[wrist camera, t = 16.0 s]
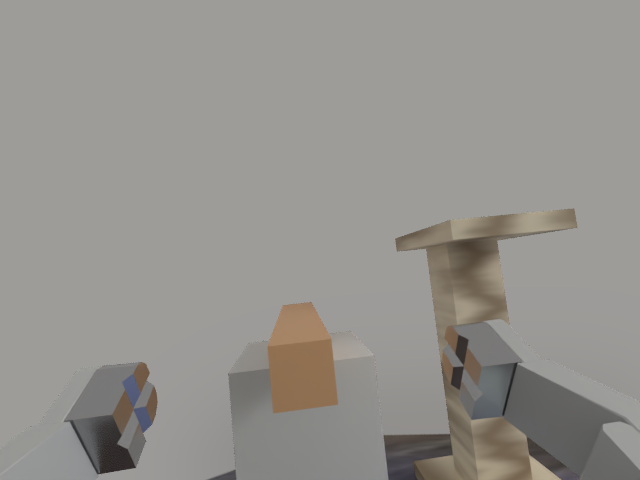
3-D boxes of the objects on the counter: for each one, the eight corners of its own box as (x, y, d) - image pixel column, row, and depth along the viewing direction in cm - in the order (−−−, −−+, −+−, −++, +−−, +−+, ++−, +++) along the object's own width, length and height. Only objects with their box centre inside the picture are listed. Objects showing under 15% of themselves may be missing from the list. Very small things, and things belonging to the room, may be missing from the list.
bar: (273, 413, 16) (267, 346, 16) (285, 334, 35) (282, 305, 36) (338, 404, 16) (331, 338, 16) (314, 331, 36) (311, 302, 36)
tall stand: (487, 597, 23) (437, 221, 25) (415, 475, 37) (386, 239, 39) (648, 567, 24) (586, 207, 26) (519, 459, 38) (485, 229, 40)
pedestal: (249, 651, 21) (228, 373, 23) (263, 531, 31) (248, 343, 33) (404, 621, 22) (374, 355, 24) (370, 513, 32) (350, 331, 34)
